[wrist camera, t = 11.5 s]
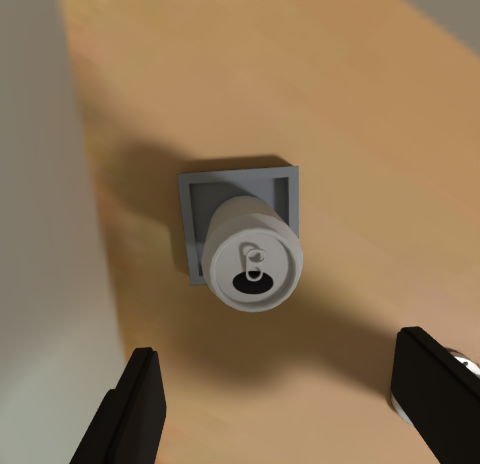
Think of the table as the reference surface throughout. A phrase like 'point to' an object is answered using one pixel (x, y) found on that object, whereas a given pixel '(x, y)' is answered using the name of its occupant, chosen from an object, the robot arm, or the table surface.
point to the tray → (224, 188)
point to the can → (250, 255)
